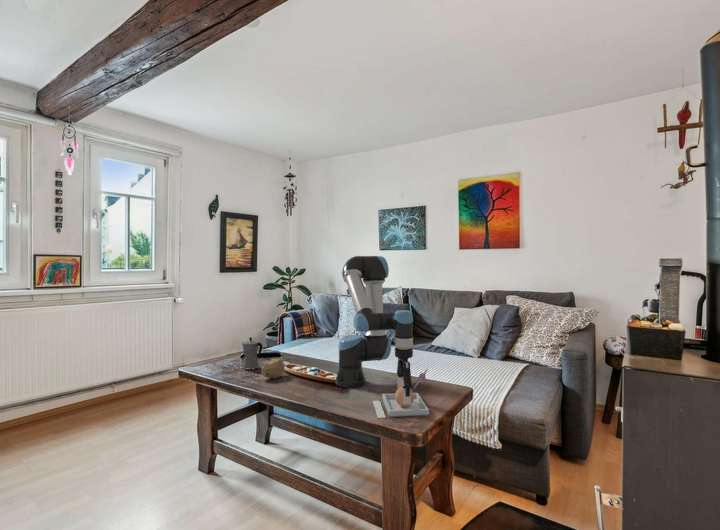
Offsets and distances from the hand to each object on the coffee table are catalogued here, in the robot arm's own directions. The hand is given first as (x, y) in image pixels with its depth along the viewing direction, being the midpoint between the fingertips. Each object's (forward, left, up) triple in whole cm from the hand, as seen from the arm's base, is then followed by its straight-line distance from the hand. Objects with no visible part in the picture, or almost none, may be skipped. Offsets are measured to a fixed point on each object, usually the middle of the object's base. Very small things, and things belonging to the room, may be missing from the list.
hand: (404, 397), depth 157 cm
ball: (0, 0, -3) cm, 3 cm away
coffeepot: (-67, -77, -4) cm, 102 cm away
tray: (0, 0, -4) cm, 4 cm away
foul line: (+2, -11, -4) cm, 12 cm away
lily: (-23, +13, -4) cm, 27 cm away
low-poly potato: (-47, -62, -4) cm, 78 cm away
